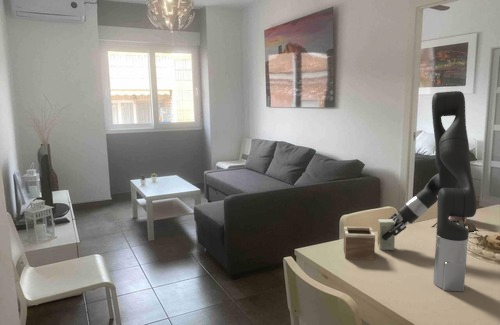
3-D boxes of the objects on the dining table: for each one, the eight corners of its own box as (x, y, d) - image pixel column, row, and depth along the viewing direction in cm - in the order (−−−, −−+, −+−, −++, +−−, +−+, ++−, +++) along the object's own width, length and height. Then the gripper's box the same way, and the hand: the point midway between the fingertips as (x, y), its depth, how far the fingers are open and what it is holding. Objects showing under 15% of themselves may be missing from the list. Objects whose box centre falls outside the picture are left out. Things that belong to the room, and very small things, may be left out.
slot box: (374, 260, 144) (375, 235, 143) (345, 258, 146) (345, 234, 145) (370, 249, 154) (371, 227, 153) (343, 248, 156) (344, 226, 154)
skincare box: (391, 246, 158) (392, 218, 156) (394, 250, 153) (395, 222, 152) (376, 245, 158) (377, 218, 156) (378, 249, 154) (379, 221, 152)
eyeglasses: (478, 236, 167) (478, 226, 167) (446, 238, 167) (447, 227, 166) (458, 226, 182) (459, 216, 181) (429, 227, 181) (429, 217, 180)
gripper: (402, 198, 158) (372, 224, 162) (410, 208, 144) (378, 235, 148) (414, 211, 158) (384, 236, 162) (424, 221, 144) (391, 248, 148)
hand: (381, 235), depth 155 cm, fingers open, 6 cm apart
